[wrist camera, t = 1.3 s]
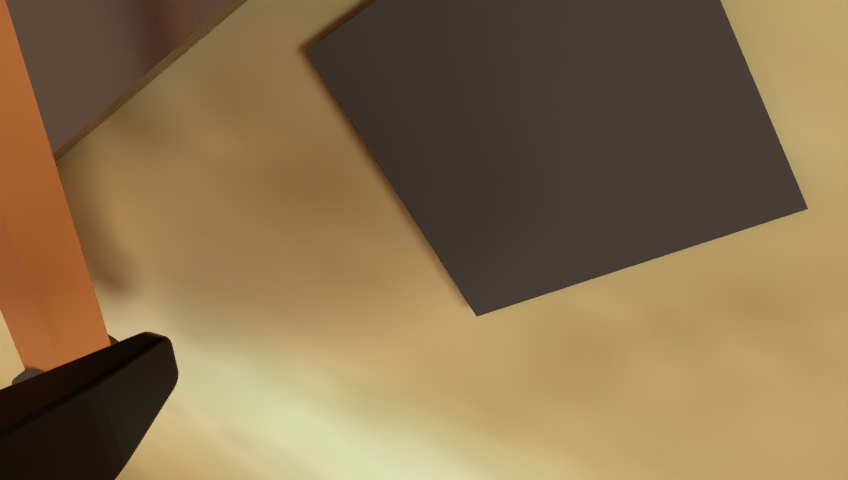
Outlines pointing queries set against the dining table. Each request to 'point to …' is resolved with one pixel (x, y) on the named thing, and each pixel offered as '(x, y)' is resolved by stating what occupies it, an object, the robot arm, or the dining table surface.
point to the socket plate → (102, 53)
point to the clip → (38, 234)
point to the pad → (559, 133)
